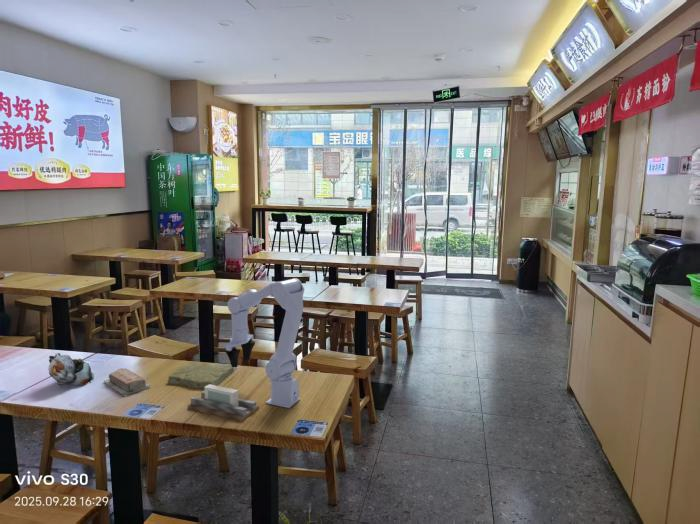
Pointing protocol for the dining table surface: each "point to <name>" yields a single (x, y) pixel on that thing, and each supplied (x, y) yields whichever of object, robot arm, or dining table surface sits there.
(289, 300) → the robot arm
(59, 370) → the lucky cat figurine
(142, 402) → the dining table surface
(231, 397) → the tall cream box
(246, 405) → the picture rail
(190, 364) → the green stone slab
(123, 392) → the packaged product
